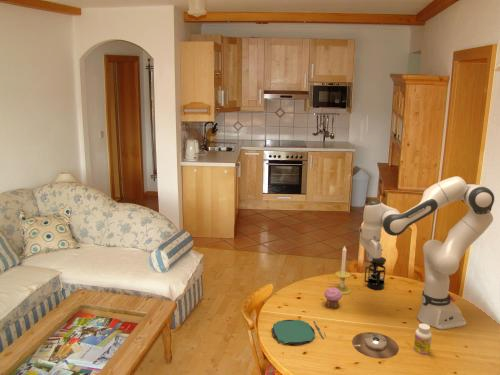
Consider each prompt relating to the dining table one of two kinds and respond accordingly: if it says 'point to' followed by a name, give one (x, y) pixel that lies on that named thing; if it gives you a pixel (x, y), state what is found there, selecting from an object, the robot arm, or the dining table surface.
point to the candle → (343, 275)
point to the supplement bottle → (422, 339)
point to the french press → (376, 274)
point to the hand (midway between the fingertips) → (369, 259)
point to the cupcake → (333, 297)
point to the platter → (361, 347)
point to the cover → (375, 342)
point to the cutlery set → (294, 331)
